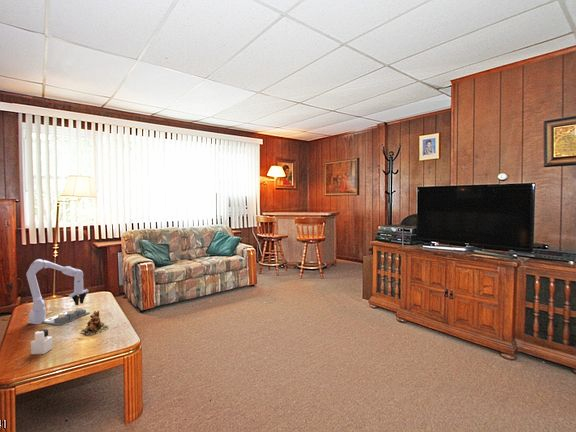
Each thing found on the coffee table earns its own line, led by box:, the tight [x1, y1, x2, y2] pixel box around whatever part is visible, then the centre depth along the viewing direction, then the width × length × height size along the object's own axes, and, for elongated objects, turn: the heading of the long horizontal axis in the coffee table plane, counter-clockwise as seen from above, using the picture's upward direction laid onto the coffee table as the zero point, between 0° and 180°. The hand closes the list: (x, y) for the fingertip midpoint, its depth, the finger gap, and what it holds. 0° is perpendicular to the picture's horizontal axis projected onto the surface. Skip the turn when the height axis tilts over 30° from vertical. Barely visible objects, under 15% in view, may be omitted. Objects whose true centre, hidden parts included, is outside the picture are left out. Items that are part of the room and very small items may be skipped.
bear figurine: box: [80, 310, 110, 337], centre depth 205 cm, size 14×15×12 cm
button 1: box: [57, 312, 65, 319], centre depth 218 cm, size 4×4×3 cm
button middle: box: [66, 309, 74, 315], centre depth 225 cm, size 4×4×3 cm
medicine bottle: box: [30, 328, 53, 355], centre depth 176 cm, size 7×7×12 cm
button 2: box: [75, 306, 84, 312], centre depth 232 cm, size 4×4×3 cm
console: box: [41, 309, 91, 326], centre depth 227 cm, size 18×24×3 cm
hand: (79, 304), depth 232 cm, fingers open, 3 cm apart
